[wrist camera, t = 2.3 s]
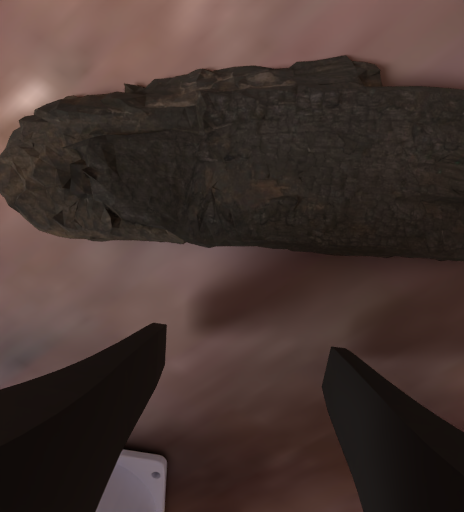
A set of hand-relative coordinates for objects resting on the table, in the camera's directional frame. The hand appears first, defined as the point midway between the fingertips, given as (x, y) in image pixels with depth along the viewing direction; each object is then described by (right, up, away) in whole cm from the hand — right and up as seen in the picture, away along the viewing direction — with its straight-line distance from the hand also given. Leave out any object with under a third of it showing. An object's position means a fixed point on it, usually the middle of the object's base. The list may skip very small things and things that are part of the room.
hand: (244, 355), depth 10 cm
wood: (+1, +8, 0) cm, 8 cm away
